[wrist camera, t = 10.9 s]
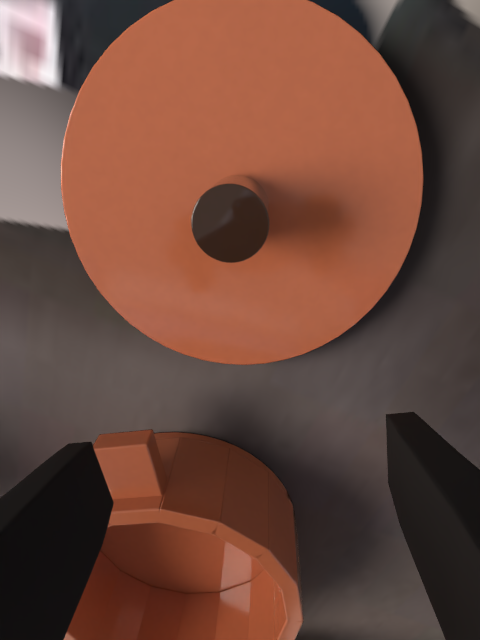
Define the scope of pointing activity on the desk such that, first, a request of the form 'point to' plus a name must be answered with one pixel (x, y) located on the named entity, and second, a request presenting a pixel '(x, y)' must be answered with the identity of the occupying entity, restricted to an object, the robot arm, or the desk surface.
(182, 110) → the pot lid
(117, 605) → the pot
